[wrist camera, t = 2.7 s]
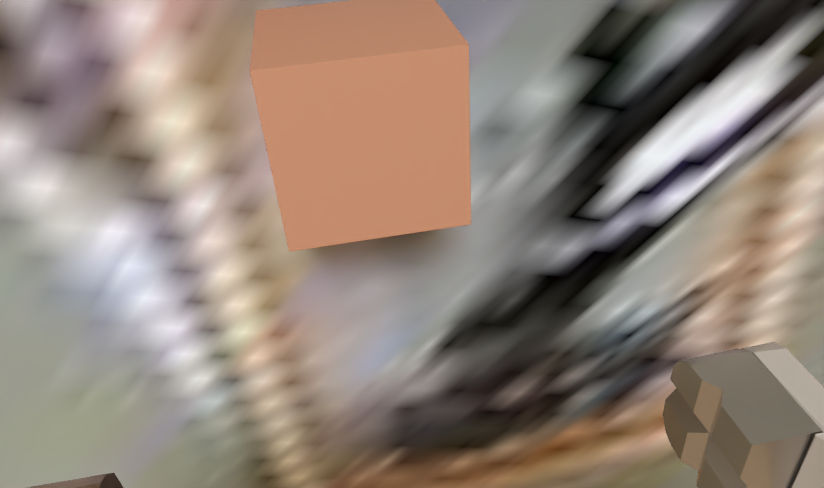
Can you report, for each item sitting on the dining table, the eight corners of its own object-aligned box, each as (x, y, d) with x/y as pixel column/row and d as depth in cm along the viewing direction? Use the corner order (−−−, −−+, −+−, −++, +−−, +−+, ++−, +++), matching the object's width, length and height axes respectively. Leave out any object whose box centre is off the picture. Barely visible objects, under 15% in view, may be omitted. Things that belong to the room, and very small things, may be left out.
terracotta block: (428, -9, 19) (468, 44, 15) (435, 144, 22) (471, 224, 18) (256, 9, 18) (249, 71, 14) (287, 164, 21) (289, 251, 17)
